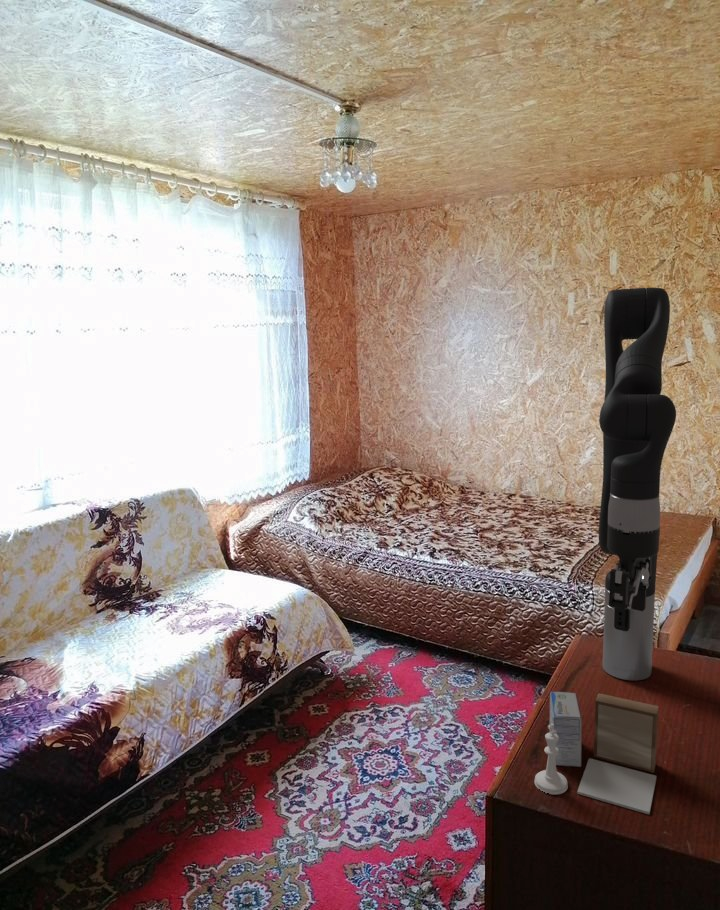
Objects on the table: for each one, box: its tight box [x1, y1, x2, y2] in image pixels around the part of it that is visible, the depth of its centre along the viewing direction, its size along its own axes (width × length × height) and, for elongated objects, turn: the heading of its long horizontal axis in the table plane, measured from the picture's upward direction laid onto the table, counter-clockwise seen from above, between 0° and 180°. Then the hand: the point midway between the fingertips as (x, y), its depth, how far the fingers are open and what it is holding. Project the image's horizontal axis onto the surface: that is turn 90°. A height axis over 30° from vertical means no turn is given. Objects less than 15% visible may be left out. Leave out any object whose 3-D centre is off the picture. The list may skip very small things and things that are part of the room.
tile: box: [593, 693, 659, 773], centre depth 108 cm, size 3×9×10 cm, turn 61°
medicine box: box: [548, 691, 583, 768], centre depth 111 cm, size 8×4×9 cm, turn 168°
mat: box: [576, 757, 657, 815], centre depth 103 cm, size 9×10×1 cm
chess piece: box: [534, 723, 569, 796], centre depth 103 cm, size 5×5×10 cm
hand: (630, 619), depth 109 cm, fingers open, 8 cm apart
